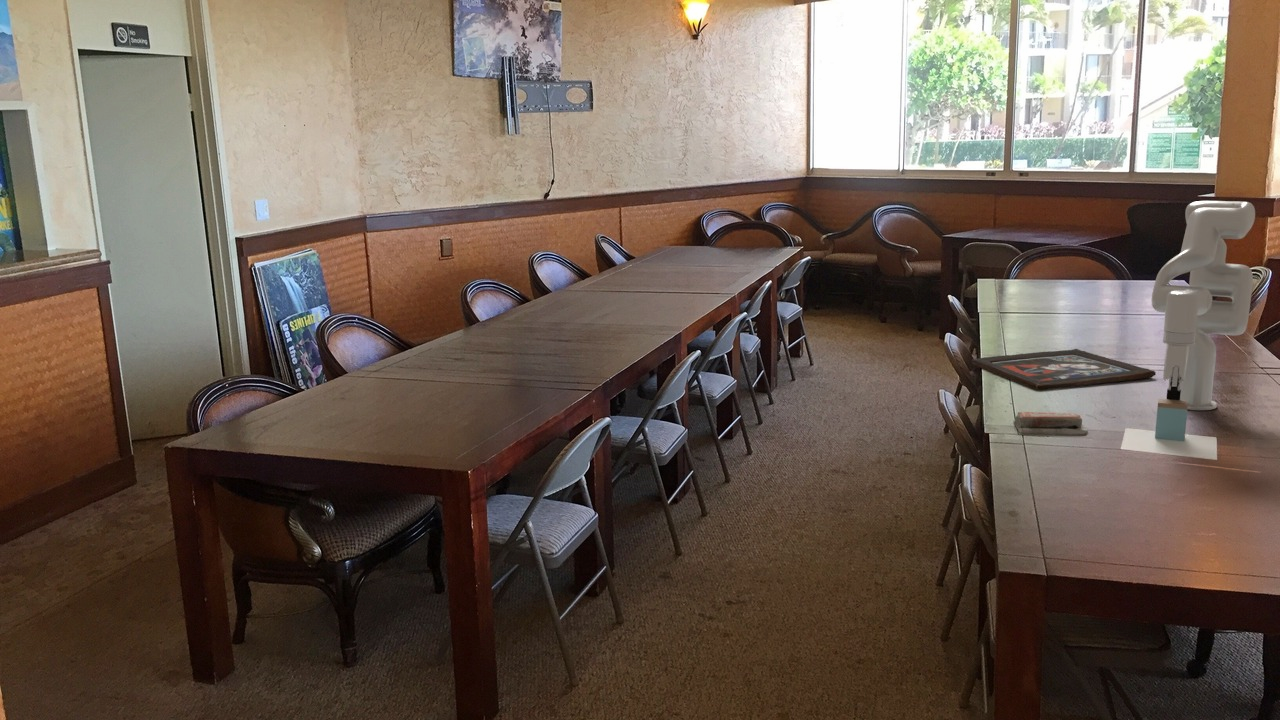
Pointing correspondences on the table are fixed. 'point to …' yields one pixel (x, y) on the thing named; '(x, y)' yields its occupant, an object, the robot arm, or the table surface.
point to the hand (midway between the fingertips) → (1172, 404)
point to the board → (1170, 444)
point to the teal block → (1171, 419)
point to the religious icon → (1061, 369)
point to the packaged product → (1049, 423)
